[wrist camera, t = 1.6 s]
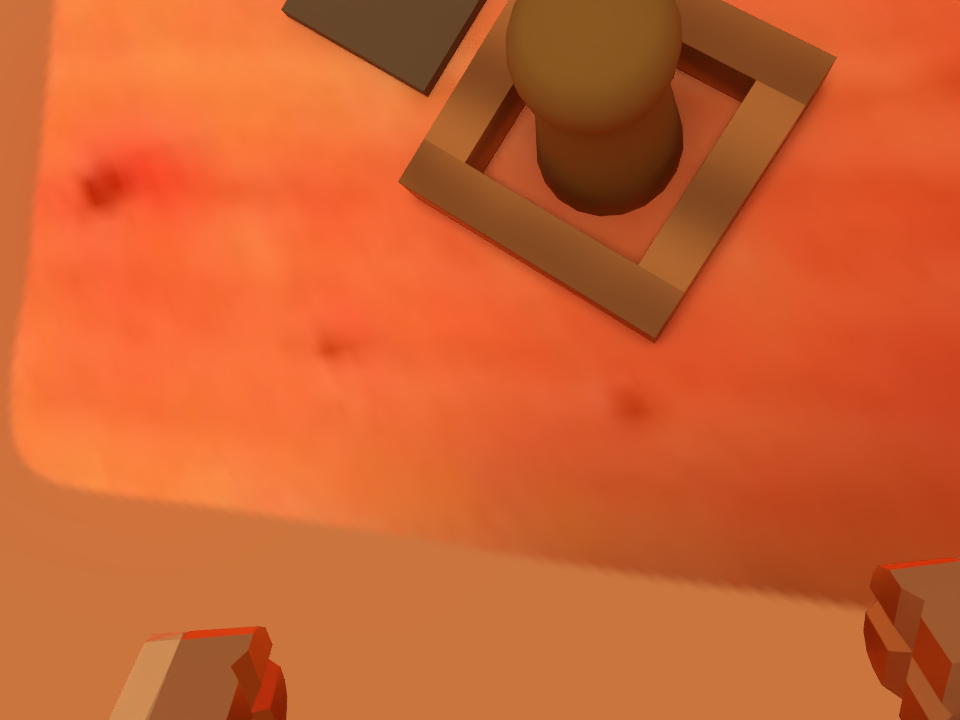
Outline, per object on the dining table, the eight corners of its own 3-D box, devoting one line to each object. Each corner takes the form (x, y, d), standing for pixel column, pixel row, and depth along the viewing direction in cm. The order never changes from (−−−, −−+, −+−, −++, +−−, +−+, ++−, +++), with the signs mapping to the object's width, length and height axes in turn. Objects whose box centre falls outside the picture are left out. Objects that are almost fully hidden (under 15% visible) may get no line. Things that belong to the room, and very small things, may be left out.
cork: (645, 238, 32) (642, 155, 21) (512, 184, 33) (446, 79, 22) (708, 102, 31) (739, -53, 21) (573, 52, 33) (535, -118, 22)
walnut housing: (564, -46, 33) (557, -81, 30) (821, 84, 30) (836, 57, 28) (416, 197, 34) (398, 181, 31) (654, 342, 31) (654, 338, 29)
